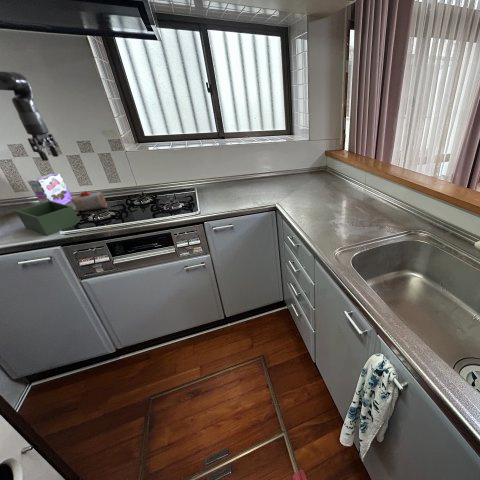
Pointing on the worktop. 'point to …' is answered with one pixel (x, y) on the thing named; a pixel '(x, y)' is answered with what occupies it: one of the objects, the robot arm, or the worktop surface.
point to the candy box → (51, 189)
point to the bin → (48, 217)
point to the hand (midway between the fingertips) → (51, 158)
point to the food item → (89, 201)
